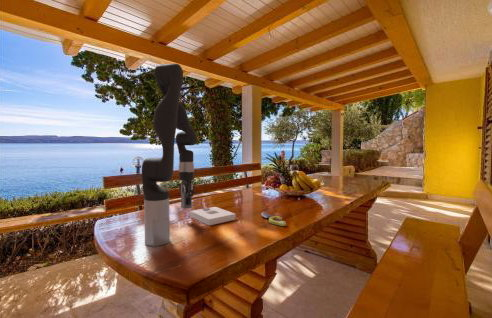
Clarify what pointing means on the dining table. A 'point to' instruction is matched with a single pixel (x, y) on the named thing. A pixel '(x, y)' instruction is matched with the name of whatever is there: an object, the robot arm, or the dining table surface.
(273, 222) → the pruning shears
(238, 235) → the dining table surface
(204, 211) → the socket plate
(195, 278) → the dining table surface
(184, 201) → the gray knobbed square peg
